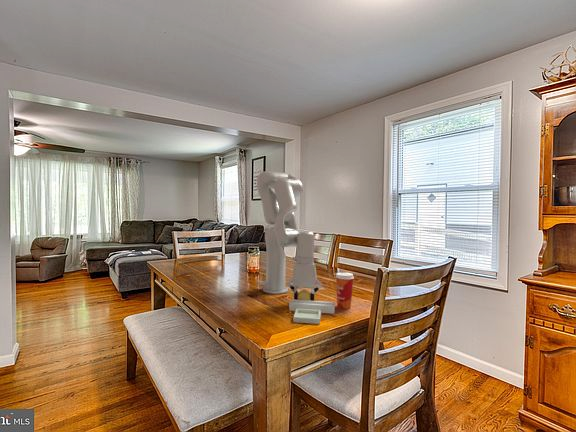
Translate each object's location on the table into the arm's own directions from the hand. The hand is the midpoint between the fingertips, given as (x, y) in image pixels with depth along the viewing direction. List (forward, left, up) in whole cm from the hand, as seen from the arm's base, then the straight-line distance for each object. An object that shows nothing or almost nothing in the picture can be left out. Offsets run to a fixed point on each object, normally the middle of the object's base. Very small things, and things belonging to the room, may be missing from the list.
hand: (304, 301), depth 129 cm
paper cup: (+17, 0, -1) cm, 17 cm away
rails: (+4, -7, -1) cm, 8 cm away
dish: (+3, -16, -1) cm, 17 cm away
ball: (0, 0, +2) cm, 2 cm away
